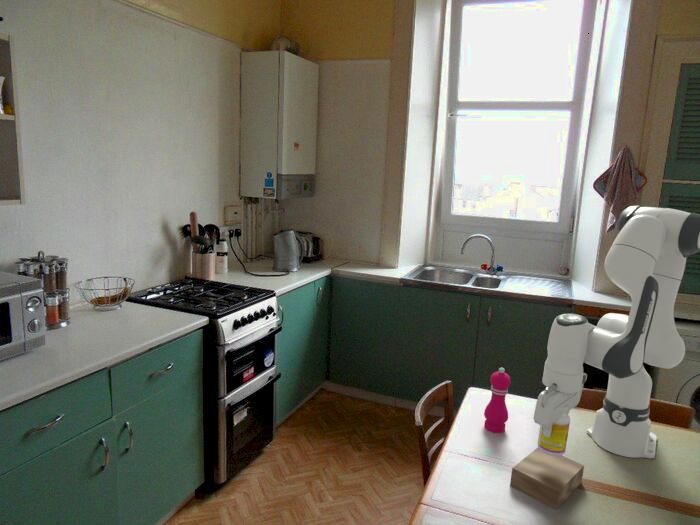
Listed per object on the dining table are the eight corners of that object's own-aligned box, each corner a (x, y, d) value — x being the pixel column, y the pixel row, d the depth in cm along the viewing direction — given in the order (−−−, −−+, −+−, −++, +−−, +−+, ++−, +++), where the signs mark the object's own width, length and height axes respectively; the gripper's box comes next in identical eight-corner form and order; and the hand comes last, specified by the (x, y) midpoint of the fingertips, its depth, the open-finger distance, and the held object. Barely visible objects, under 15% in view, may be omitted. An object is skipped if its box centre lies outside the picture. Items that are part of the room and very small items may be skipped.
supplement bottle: (567, 459, 125) (575, 411, 122) (539, 454, 126) (546, 407, 124) (561, 445, 131) (569, 399, 129) (535, 441, 132) (542, 395, 130)
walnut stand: (537, 462, 140) (539, 445, 139) (581, 482, 132) (584, 465, 131) (509, 485, 129) (512, 467, 128) (556, 509, 121) (559, 490, 120)
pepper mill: (487, 419, 163) (494, 361, 159) (509, 427, 159) (517, 367, 155) (479, 428, 157) (486, 367, 153) (501, 436, 153) (509, 374, 149)
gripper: (557, 395, 115) (548, 450, 118) (589, 373, 130) (581, 422, 133) (531, 385, 120) (523, 438, 122) (565, 365, 134) (557, 413, 137)
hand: (553, 430), depth 128 cm, fingers closed on supplement bottle, 7 cm apart
